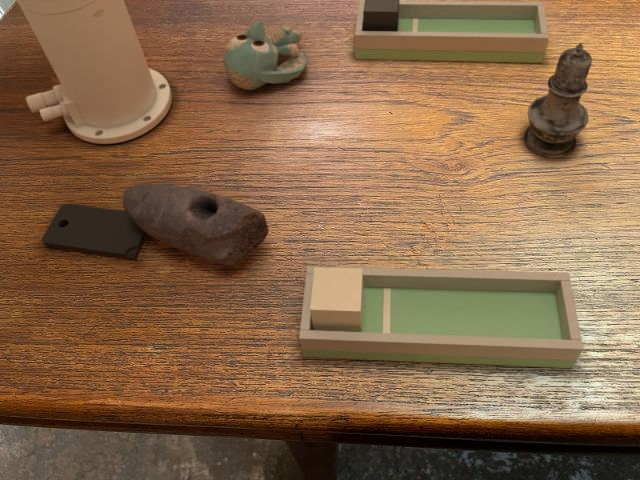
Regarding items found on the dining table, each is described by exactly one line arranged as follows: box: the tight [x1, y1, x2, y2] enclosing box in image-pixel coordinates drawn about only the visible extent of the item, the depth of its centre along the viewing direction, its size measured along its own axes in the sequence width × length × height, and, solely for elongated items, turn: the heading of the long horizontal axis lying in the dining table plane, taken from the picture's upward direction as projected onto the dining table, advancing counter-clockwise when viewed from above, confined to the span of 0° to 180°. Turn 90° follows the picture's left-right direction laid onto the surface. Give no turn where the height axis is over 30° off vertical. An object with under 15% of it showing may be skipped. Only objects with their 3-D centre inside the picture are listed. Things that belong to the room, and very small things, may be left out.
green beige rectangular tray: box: [354, 0, 550, 64], centre depth 74 cm, size 22×7×4 cm, turn 83°
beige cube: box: [310, 267, 363, 332], centre depth 51 cm, size 4×4×4 cm
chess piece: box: [523, 42, 593, 159], centre depth 60 cm, size 6×6×12 cm
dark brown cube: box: [363, 0, 400, 32], centre depth 73 cm, size 4×4×4 cm
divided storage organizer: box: [298, 265, 584, 369], centre depth 51 cm, size 22×7×4 cm, turn 85°
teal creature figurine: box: [223, 19, 308, 91], centre depth 72 cm, size 11×7×12 cm
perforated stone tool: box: [122, 183, 269, 267], centre depth 57 cm, size 15×5×7 cm, turn 65°
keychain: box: [41, 203, 148, 261], centre depth 61 cm, size 5×1×10 cm
